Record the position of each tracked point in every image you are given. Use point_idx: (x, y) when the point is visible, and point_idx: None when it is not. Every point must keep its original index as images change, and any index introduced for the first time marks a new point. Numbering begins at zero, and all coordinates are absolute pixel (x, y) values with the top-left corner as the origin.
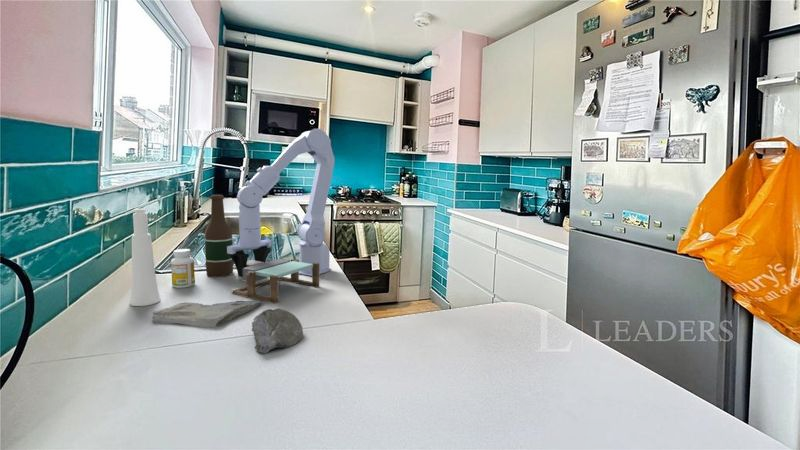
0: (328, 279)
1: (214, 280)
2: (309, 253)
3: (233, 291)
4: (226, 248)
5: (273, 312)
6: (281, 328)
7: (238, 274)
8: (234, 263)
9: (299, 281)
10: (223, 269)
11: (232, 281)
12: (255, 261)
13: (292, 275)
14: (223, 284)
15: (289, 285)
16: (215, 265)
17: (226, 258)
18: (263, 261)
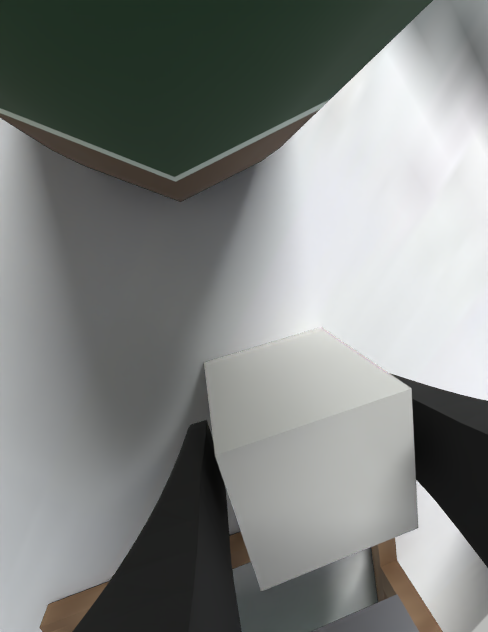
0: (483, 578)
1: (40, 269)
2: None
3: (45, 627)
4: (183, 18)
5: None
6: None
7: (187, 435)
8: (142, 530)
9: (382, 597)
10: (147, 184)
11: (151, 383)
12: (385, 483)
13: None
14: (67, 417)
15: (332, 588)
16: (19, 127)
17: (180, 166)
18: (435, 495)
